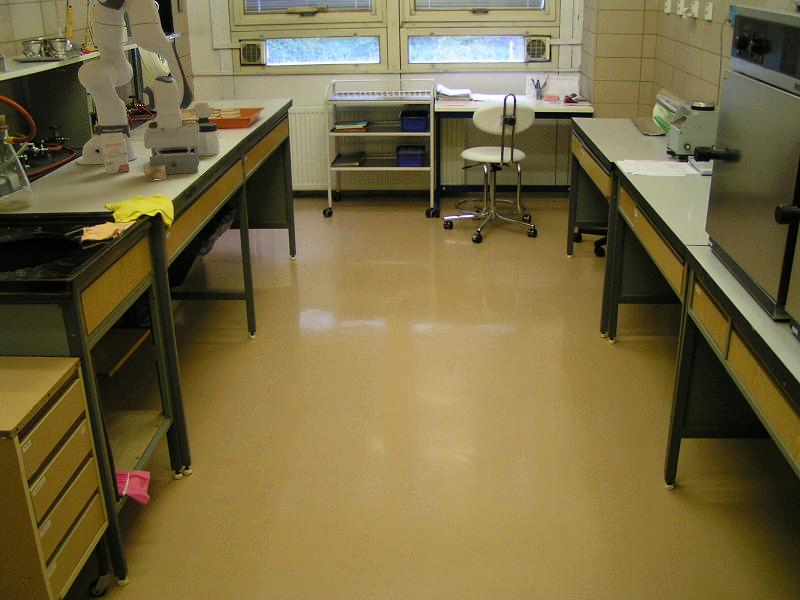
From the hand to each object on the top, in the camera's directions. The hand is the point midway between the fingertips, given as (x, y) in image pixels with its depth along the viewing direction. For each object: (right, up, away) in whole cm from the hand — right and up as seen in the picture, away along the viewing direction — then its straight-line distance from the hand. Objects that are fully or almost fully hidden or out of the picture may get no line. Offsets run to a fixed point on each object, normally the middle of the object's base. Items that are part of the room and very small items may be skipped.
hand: (174, 159), depth 321 cm
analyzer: (-3, +1, +15) cm, 15 cm away
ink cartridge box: (-21, -5, 0) cm, 22 cm away
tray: (+1, -4, 0) cm, 4 cm away
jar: (+7, +7, +30) cm, 31 cm away
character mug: (-8, +27, +85) cm, 90 cm away
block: (-3, -9, -13) cm, 16 cm away
